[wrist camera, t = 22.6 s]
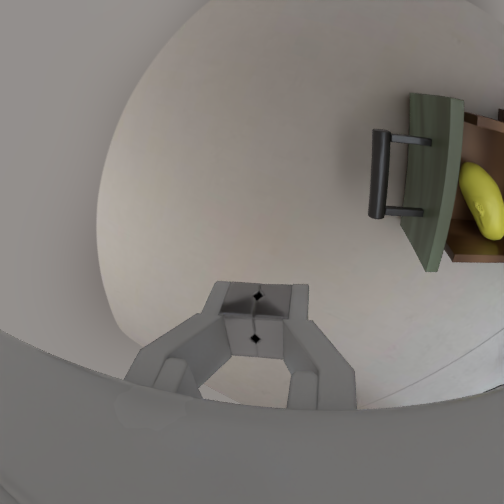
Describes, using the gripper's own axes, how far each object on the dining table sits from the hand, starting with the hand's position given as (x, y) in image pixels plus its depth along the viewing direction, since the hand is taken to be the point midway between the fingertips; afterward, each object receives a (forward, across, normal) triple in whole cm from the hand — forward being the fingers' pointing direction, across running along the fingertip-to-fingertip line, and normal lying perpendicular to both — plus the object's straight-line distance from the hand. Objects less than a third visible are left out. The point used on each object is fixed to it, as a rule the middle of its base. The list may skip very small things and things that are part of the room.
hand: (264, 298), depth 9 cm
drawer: (+19, -16, 0) cm, 25 cm away
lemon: (+16, -20, +1) cm, 26 cm away
